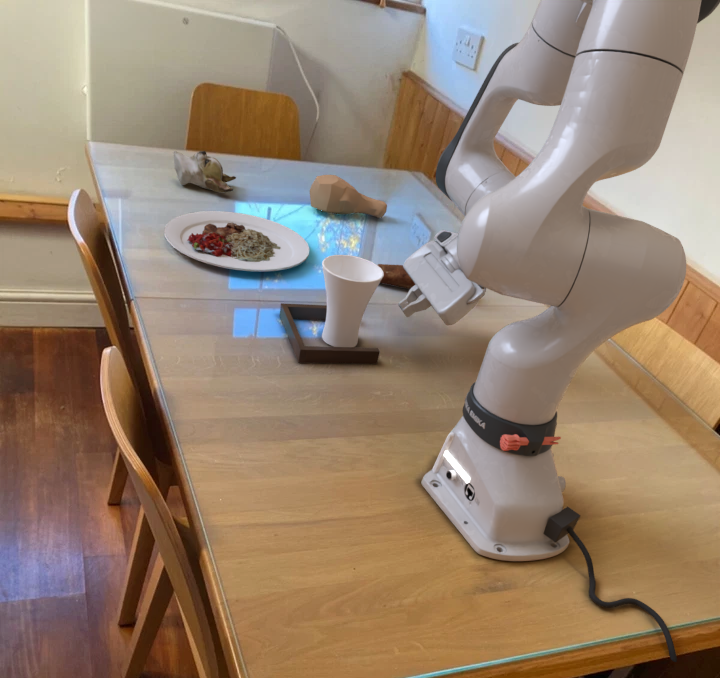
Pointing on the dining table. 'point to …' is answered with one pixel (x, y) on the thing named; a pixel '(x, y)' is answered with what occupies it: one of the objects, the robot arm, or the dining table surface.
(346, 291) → the cup
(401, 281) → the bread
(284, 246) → the plated food
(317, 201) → the tan chicken drumstick
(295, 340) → the dark brown flat frame
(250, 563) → the dining table surface
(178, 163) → the ceramic sculpture
